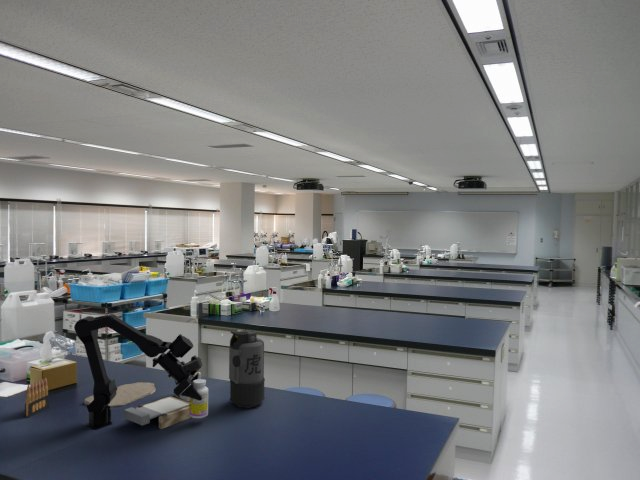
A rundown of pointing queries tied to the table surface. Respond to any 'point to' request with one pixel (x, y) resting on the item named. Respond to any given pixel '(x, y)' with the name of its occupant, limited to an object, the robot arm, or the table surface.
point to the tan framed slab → (172, 415)
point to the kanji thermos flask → (246, 369)
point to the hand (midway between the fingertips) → (202, 396)
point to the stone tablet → (128, 393)
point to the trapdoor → (153, 410)
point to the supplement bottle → (199, 407)
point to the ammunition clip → (36, 398)
